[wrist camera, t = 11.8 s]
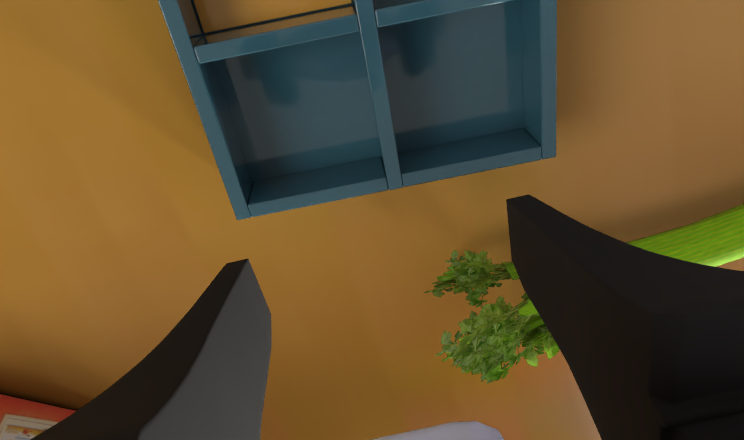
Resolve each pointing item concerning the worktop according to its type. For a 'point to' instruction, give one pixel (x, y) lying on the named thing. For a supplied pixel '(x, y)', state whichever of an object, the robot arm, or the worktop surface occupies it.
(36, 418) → the cracker box
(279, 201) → the teal compartment tray
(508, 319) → the celery
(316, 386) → the worktop surface
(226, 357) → the robot arm
